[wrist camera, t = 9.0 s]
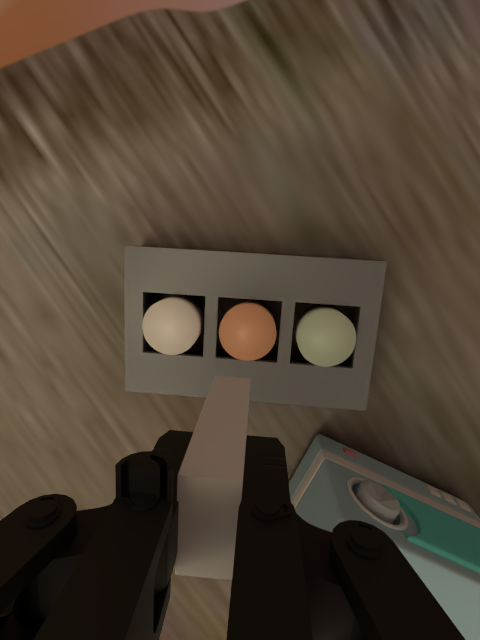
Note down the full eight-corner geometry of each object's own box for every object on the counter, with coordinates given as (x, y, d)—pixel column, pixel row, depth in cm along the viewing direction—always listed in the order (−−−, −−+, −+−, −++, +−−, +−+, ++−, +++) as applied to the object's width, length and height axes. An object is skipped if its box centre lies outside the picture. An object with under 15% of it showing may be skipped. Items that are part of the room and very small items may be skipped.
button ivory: (151, 344, 31) (142, 352, 28) (152, 293, 30) (142, 297, 27) (202, 348, 30) (197, 357, 28) (204, 297, 29) (199, 301, 27)
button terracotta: (221, 349, 30) (217, 358, 28) (223, 298, 29) (220, 303, 27) (273, 353, 30) (273, 363, 28) (277, 302, 29) (278, 306, 27)
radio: (469, 486, 34) (745, 807, 15) (420, 556, 36) (606, 924, 16) (320, 417, 34) (399, 651, 14) (278, 491, 36) (296, 789, 16)
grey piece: (140, 374, 34) (125, 391, 30) (141, 245, 31) (123, 245, 28) (354, 391, 33) (366, 411, 29) (371, 259, 30) (387, 261, 27)
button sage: (292, 354, 30) (294, 364, 28) (297, 303, 29) (300, 308, 27) (345, 358, 30) (352, 368, 27) (351, 307, 29) (359, 312, 26)
